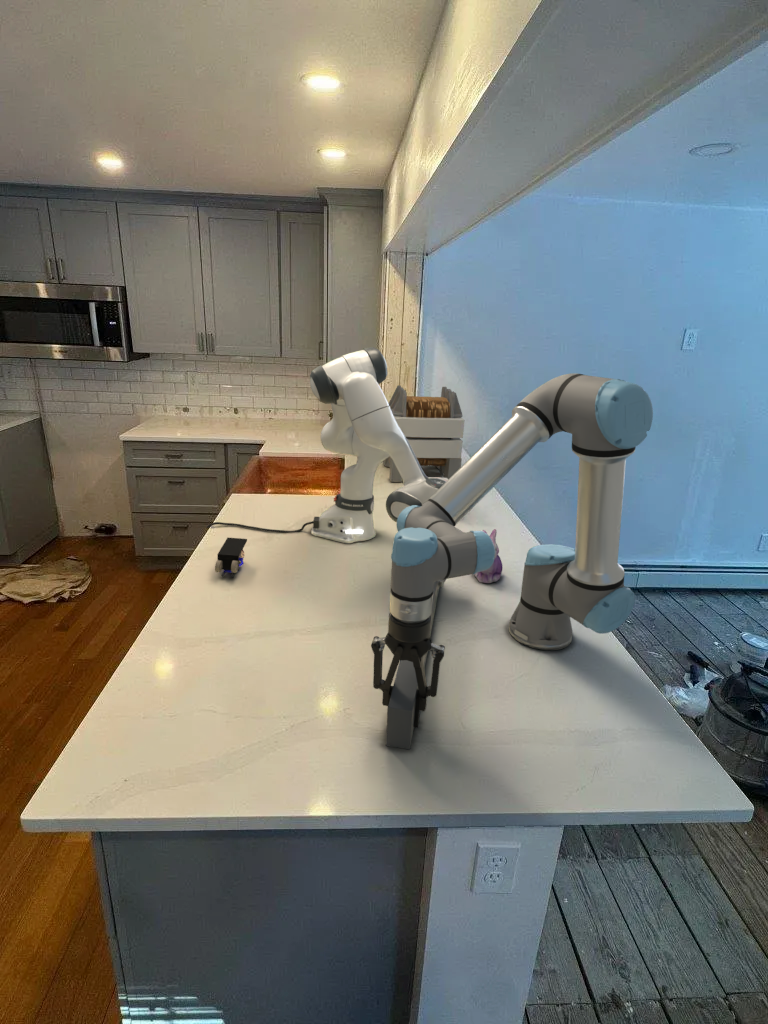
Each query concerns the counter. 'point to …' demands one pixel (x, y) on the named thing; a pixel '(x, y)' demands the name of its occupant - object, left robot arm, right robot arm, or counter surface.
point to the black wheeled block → (230, 556)
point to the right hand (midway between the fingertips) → (403, 720)
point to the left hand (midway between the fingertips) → (430, 584)
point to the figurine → (496, 568)
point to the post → (405, 698)
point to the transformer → (429, 430)
